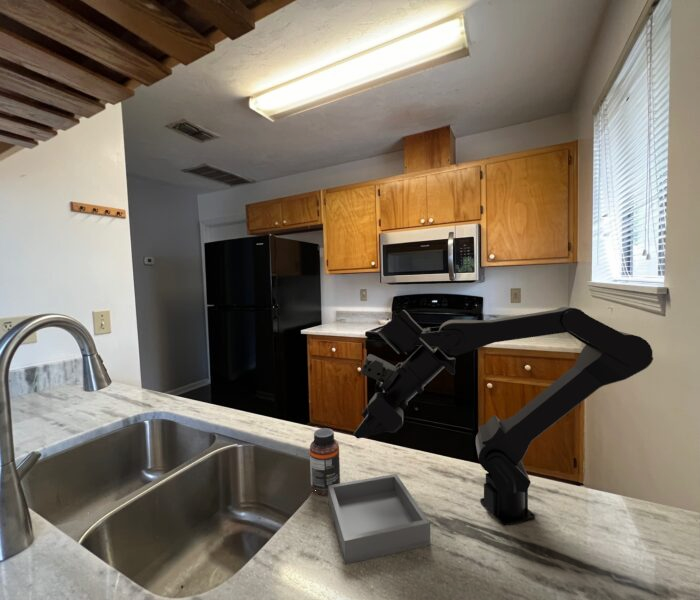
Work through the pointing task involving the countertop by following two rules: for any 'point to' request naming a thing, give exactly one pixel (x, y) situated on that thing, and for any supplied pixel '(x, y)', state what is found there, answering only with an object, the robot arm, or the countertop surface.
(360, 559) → the tray
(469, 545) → the countertop surface
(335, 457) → the supplement bottle
